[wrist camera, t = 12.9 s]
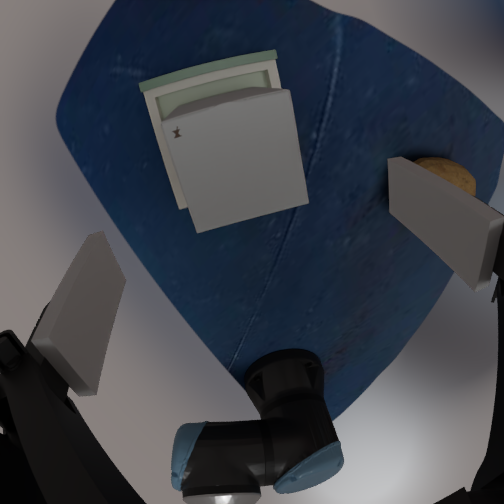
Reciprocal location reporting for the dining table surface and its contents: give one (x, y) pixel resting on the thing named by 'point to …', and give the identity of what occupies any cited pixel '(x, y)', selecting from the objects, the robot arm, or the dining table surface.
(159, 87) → the shallow square tray
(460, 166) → the potato
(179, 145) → the supplement box
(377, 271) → the dining table surface
